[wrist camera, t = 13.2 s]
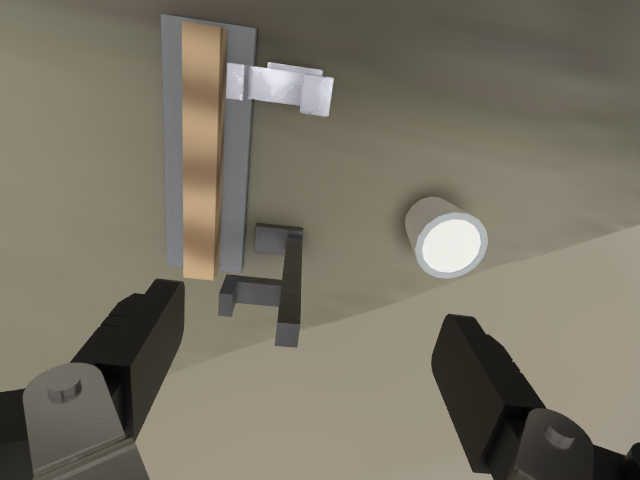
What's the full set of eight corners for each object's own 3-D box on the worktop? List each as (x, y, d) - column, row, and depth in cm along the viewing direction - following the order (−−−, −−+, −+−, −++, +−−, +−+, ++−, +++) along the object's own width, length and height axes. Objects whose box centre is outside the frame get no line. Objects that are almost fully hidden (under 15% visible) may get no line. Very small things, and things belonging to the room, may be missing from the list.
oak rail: (192, 25, 33) (181, 21, 30) (227, 30, 33) (220, 26, 30) (191, 264, 42) (183, 277, 39) (219, 266, 42) (213, 280, 39)
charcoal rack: (255, 60, 36) (216, 50, 20) (322, 70, 36) (335, 68, 20) (244, 246, 43) (209, 345, 27) (299, 252, 44) (296, 353, 28)
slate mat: (166, 16, 34) (160, 13, 33) (257, 30, 35) (255, 28, 33) (171, 259, 43) (166, 265, 42) (243, 266, 44) (241, 272, 43)
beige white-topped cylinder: (399, 252, 44) (415, 282, 38) (398, 194, 41) (415, 216, 35) (459, 246, 44) (485, 275, 37) (462, 187, 41) (491, 208, 35)
